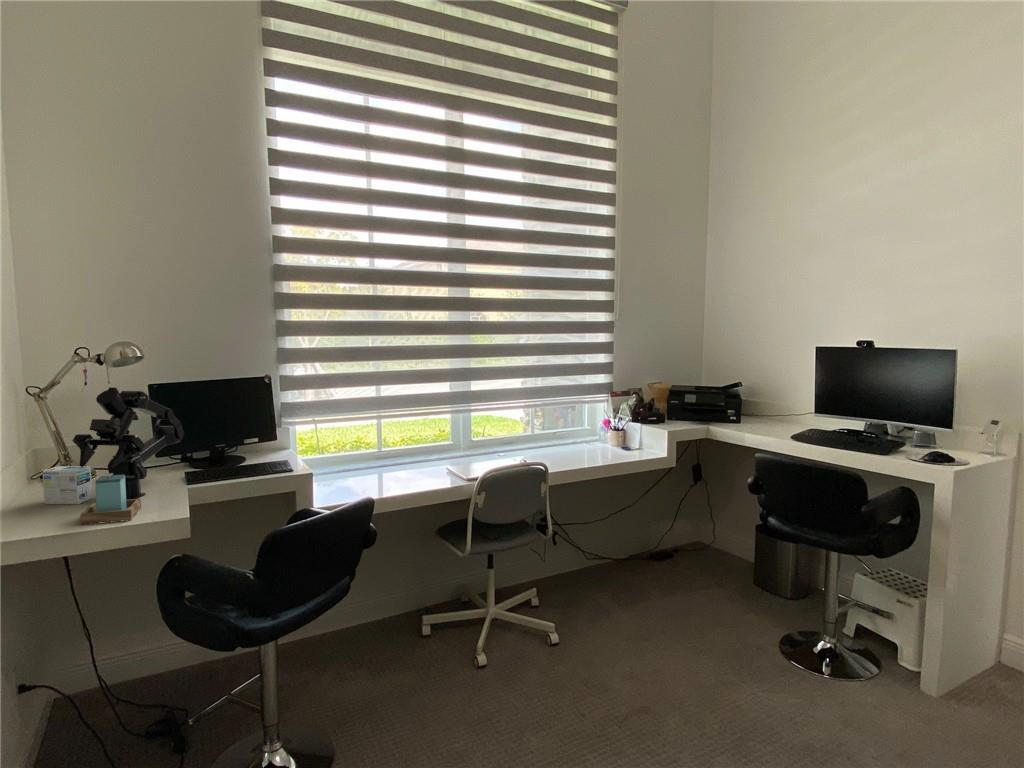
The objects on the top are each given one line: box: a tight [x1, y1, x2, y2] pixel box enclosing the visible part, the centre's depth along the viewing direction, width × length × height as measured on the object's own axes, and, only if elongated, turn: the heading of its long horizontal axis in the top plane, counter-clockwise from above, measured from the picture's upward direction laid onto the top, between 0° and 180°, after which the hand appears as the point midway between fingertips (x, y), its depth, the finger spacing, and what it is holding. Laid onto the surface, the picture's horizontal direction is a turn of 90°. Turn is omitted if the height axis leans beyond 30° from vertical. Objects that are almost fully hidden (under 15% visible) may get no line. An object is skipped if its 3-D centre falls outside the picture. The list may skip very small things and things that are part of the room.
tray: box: [79, 498, 142, 525], centre depth 171 cm, size 12×12×3 cm
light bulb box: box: [41, 465, 93, 505], centre depth 184 cm, size 11×7×11 cm, turn 92°
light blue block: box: [94, 473, 127, 512], centre depth 170 cm, size 6×6×12 cm
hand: (96, 466), depth 174 cm, fingers open, 9 cm apart
